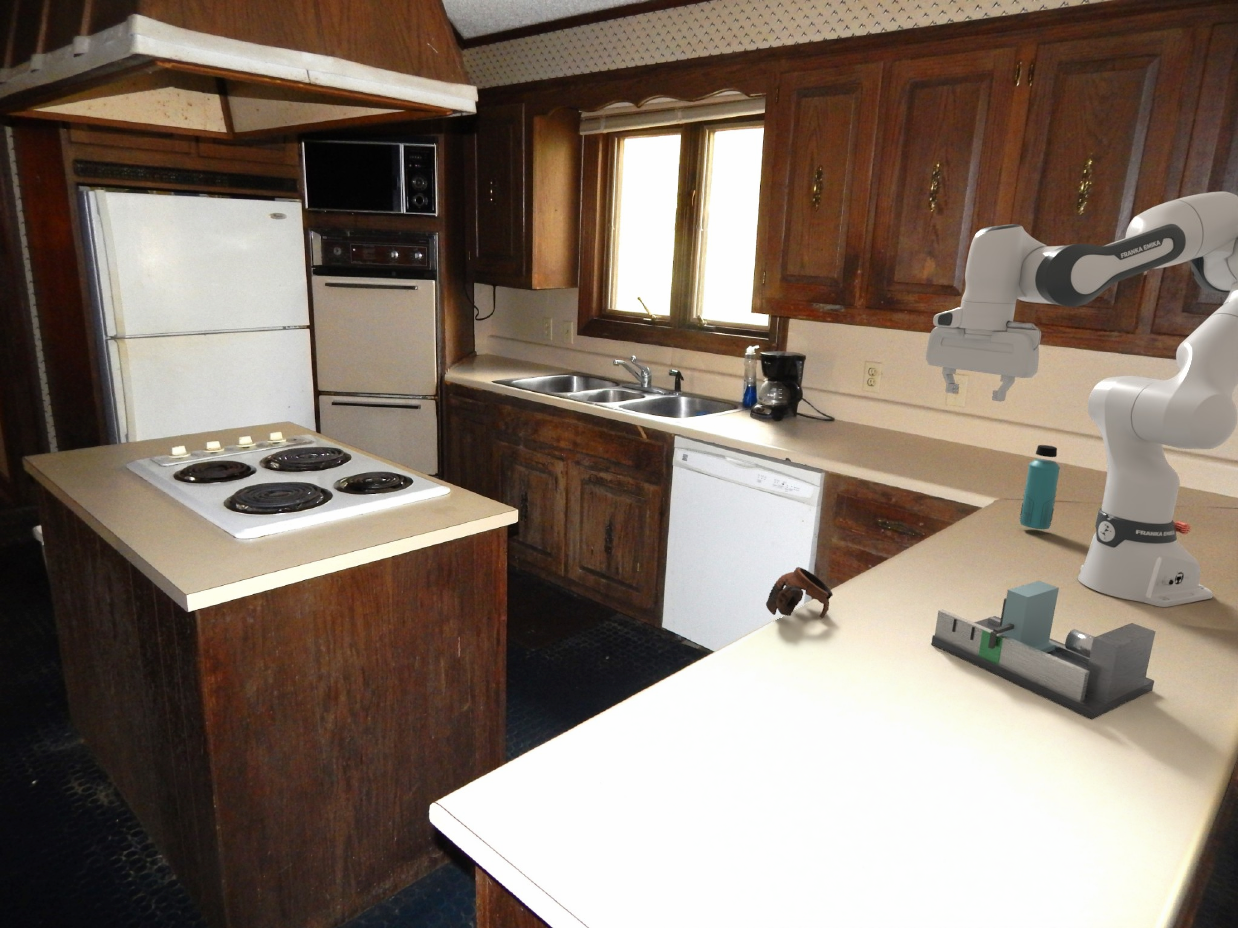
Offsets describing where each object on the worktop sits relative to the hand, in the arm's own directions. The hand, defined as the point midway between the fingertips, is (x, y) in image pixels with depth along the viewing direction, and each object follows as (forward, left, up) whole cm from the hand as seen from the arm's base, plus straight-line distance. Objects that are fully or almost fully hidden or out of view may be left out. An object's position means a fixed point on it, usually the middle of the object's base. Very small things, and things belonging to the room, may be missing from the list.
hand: (974, 396), depth 145 cm
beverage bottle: (-38, -23, -34) cm, 56 cm away
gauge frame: (+10, +36, -34) cm, 51 cm away
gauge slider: (+13, +35, -32) cm, 49 cm away
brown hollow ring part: (+38, +14, -34) cm, 53 cm away
